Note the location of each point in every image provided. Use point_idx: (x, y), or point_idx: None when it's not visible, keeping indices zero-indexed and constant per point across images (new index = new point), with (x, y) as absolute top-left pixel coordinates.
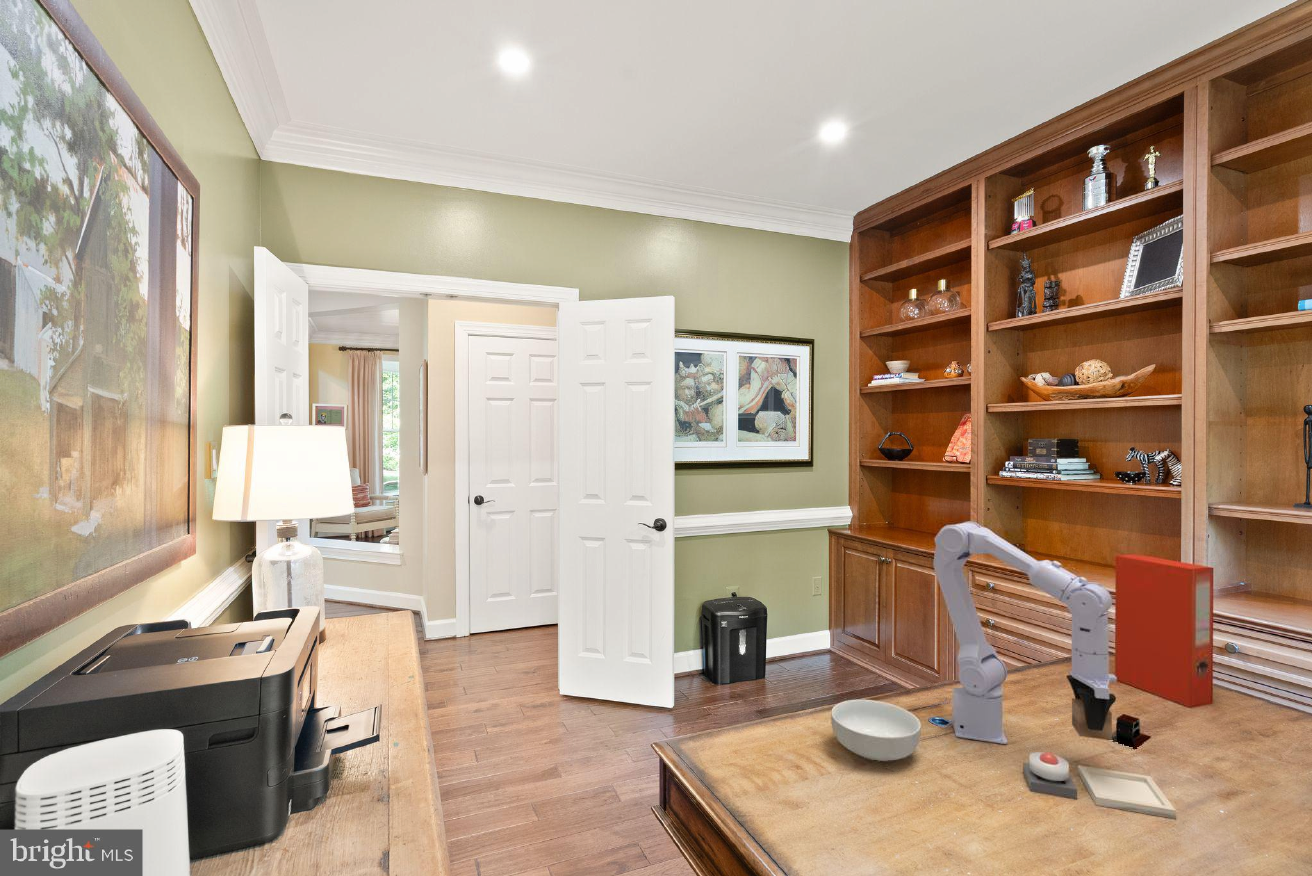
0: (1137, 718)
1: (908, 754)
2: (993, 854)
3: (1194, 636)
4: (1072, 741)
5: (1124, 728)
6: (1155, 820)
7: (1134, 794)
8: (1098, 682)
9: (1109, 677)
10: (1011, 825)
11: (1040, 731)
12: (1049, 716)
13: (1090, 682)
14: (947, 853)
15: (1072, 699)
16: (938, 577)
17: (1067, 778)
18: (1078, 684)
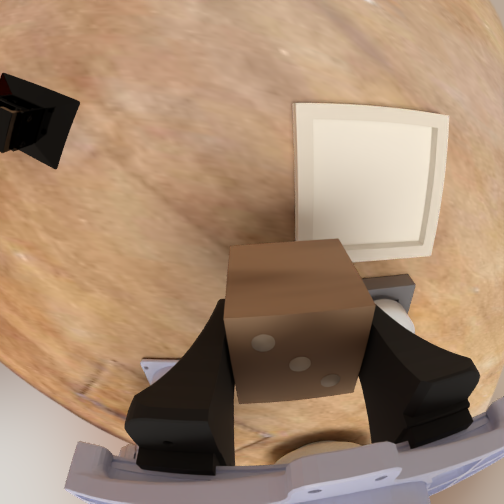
0: None
1: (355, 444)
2: (498, 350)
3: None
4: (113, 241)
5: (23, 130)
6: (451, 157)
7: (383, 166)
8: (465, 472)
9: (395, 482)
10: (466, 345)
11: (103, 297)
12: (20, 267)
13: (458, 481)
14: (490, 375)
15: (246, 401)
16: None
17: (397, 302)
18: (230, 447)
